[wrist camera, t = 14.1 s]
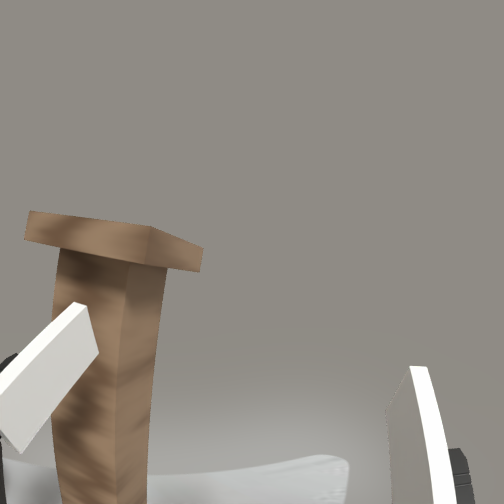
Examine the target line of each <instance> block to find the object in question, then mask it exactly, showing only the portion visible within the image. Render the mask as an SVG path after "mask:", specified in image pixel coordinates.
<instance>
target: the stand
mask: <svg viewBox="0 0 504 504" xmlns="http://www.w3.org/2000/svg"><path fill="white" fill-rule="evenodd" d="M24 240H27V241H32V242H37V243H41V244H46V245H50V246H55V247H60V253H59V260H58V266H57V273H56V282H55V290H54V299H53V310H52V322H53V321H54V320H55V319H56V318H57V317H58V316H59V315H60V314H61V313H62V312H63V311H64V310H66V309H67V308H68V307H69V306H70V305H71V304H72V303H73V302H76V303H79V304H82V305H86V306H87V309H88V313H89V317H90V321H91V325H92V329H93V333H94V337H95V340H96V344H97V347H98V351H99V354H98V355H97V356H96V358H95V359H94V360H93V361H92V363H91V364H90V365H89V366H88V368H87V369H86V370H85V371H84V373H83V374H82V375H81V376H80V378H79V379H78V380H77V381H76V383H75V384H74V385H73V386H72V388H71V389H70V390H69V391H68V393H67V394H66V395H65V397H64V398H63V399H62V400H61V402H60V403H59V404H58V406H57V407H56V408H55V410H54V411H53V412H52V414H51V422H52V434H53V443H54V453H55V461H56V468H57V475H58V481H59V486H60V492H61V497H62V502H63V504H147V459H148V438H149V422H150V409H151V396H152V385H153V374H154V365H155V355H156V346H157V338H158V330H159V322H160V314H161V307H162V301H163V294H164V287H165V280H166V274H167V268H173V269H179V270H186V271H193V272H200V265H201V260H202V254H203V248H202V247H199V246H197V245H195V244H192V243H190V242H187V241H185V240H182V239H180V238H178V237H175V236H173V235H170V234H168V233H165V232H163V231H161V230H158V229H156V228H154V227H151V226H144V225H137V224H130V223H121V222H114V221H107V220H99V219H91V218H83V217H76V216H67V215H60V214H51V213H44V212H35V211H30V212H29V216H28V221H27V226H26V231H25V237H24Z"/></svg>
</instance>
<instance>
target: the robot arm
mask: <svg viewBox="0 0 504 504" xmlns="http://www.w3.org/2000/svg"><path fill="white" fill-rule="evenodd" d="M98 354H99V351H98V347H97V344H96V340H95V337H94V333H93V329H92V325H91V321H90V317H89V313H88V309H87V306H86V305H82V304H79V303H76V302H73V303H72V304H71V305H70V306H69V307H68V308H67V309H66V310H64V311H63V312H62V313H61V314H60V315H59V316H58V317H57V318H56V319H55V320H54V321H53V322H52V323H50V324H49V325H48V326H47V327H46V328H45V329H44V330H43V331H42V332H41V333H40V334H39V335H38V336H37V337H36V338H35V339H34V340H33V341H32V342H31V343H30V344H29V345H28V346H27V347H26V348H25V349H24V350H23V351H22V352H21V353H20V354H17V353H15V354H13V355H12V356H10V357H8V358H6V359H5V360H4V361H3V362H2V363H1V364H0V439H1V437H2V438H3V439H4V440H5V442H6V443H7V444H8V445H9V446H10V447H11V448H13V449H14V450H16V451H17V452H18V453H20V454H22V453H23V451H24V450H25V449H26V447H27V446H28V444H29V443H30V442H31V440H32V439H33V438H34V436H35V435H36V434H37V432H38V431H39V429H40V428H41V427H42V425H43V424H44V423H45V421H46V420H47V419H48V417H49V416H50V415H51V414H52V412H53V411H54V410H55V408H56V407H57V406H58V404H59V403H60V402H61V400H62V399H63V398H64V397H65V395H66V394H67V393H68V391H69V390H70V389H71V388H72V386H73V385H74V384H75V383H76V381H77V380H78V379H79V378H80V376H81V375H82V374H83V373H84V371H85V370H86V369H87V368H88V366H89V365H90V364H91V363H92V361H93V360H94V359H95V358H96V356H97V355H98ZM385 413H386V422H387V432H388V442H389V454H390V468H391V486H392V487H391V489H392V504H475V500H474V494H473V488H472V485H471V477H470V475H469V467H468V463H467V459H466V457H465V456H464V454H463V453H462V451H461V450H460V448H457V449H447V444H446V439H445V434H444V430H443V426H442V421H441V417H440V413H439V409H438V406H437V401H436V398H435V394H434V391H433V387H432V383H431V380H430V376H429V373H428V370H427V367H420V366H409V368H408V370H407V372H406V374H405V376H404V378H403V380H402V382H401V384H400V385H399V387H398V389H397V391H396V393H395V394H394V396H393V398H392V400H391V402H390V403H389V405H388V407H387V409H386V410H385ZM0 504H7V503H6V495H5V487H4V476H3V463H2V446H1V442H0Z"/></svg>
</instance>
